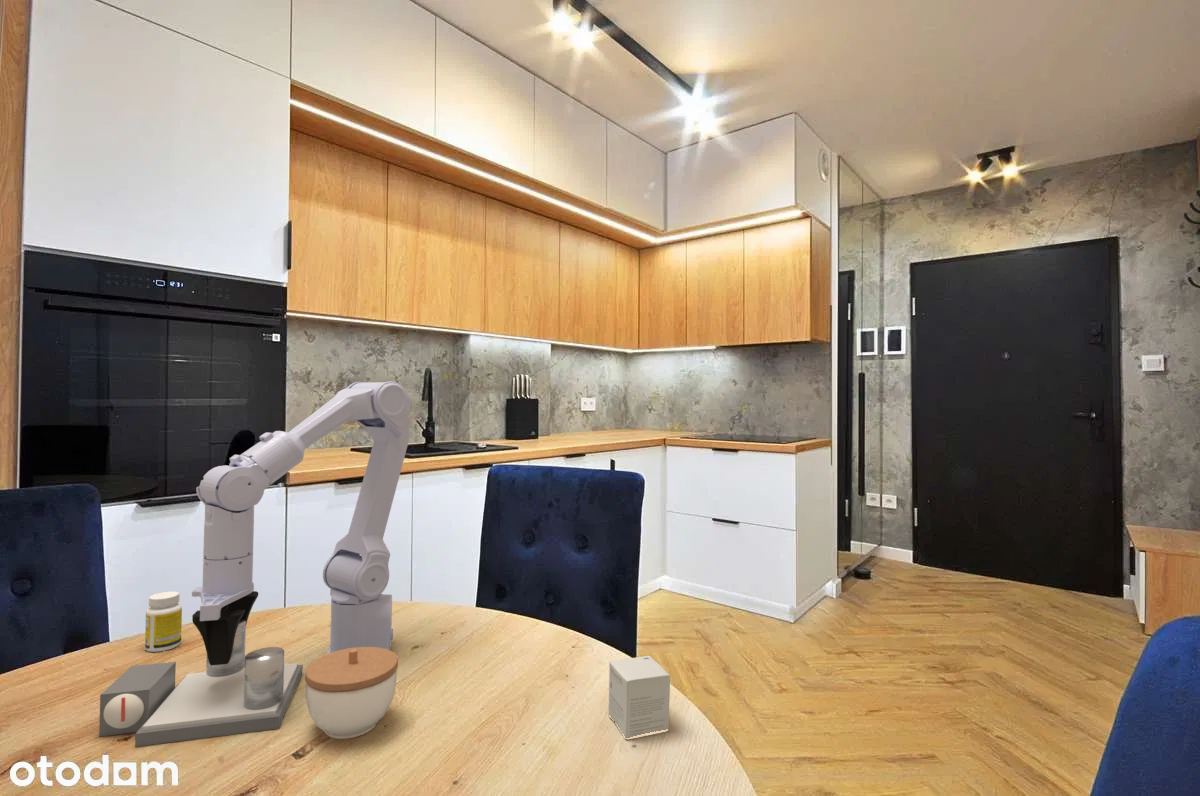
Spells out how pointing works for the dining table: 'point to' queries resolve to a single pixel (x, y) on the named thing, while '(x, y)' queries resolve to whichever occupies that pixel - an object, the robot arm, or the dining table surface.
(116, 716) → the scale
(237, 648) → the cylinder
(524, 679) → the dining table surface
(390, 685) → the lidded jar
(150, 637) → the supplement bottle
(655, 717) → the product box
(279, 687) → the cylinder
